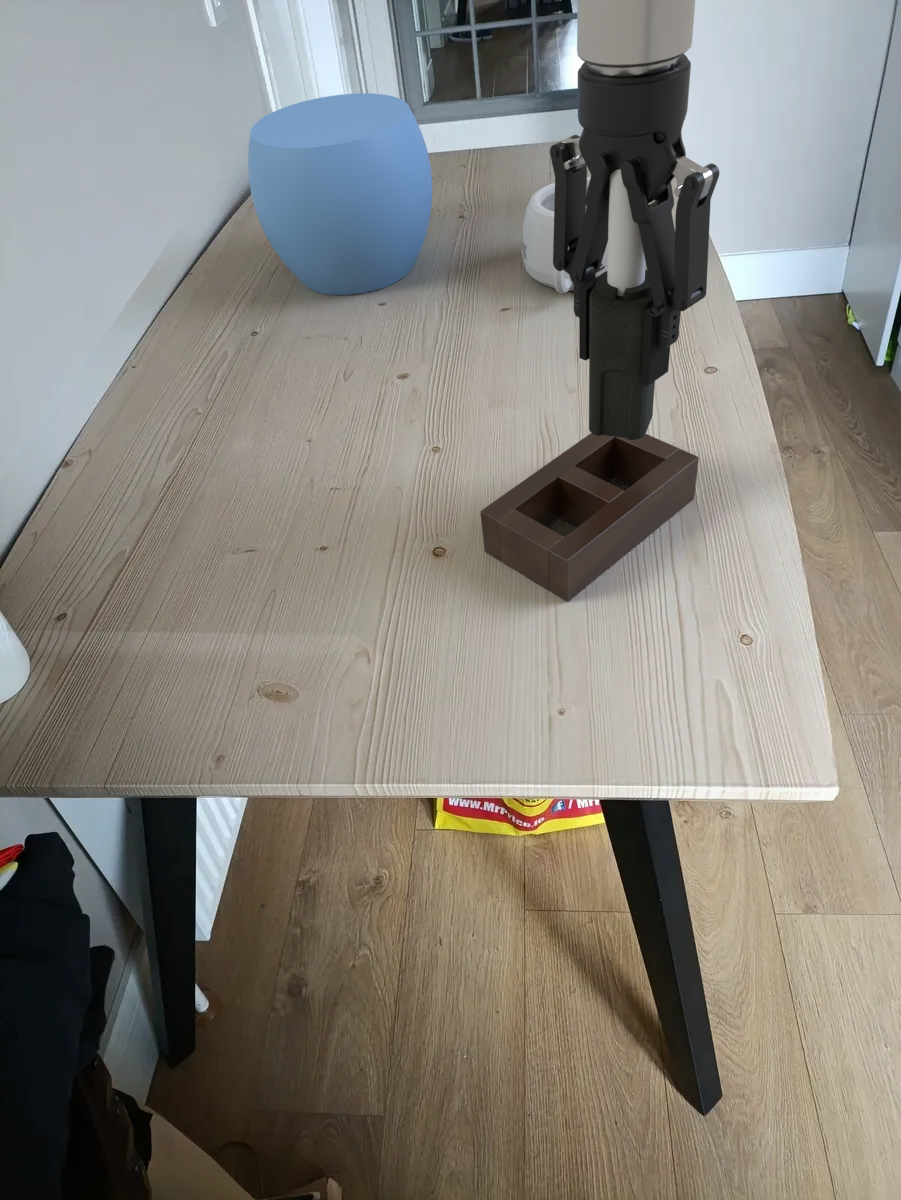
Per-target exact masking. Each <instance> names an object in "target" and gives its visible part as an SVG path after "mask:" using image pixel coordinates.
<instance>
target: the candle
mask: <svg viewBox="0 0 901 1200" xmlns="http://www.w3.org/2000/svg"><path fill="white" fill-rule="evenodd" d="M649 204H650V203H648V205H649ZM653 304H654V303H653V298H652V293H651V287H650V282H649V277H648V272H647V268H646V262H645V256H644V251H643V246H642V241H641V236H640V231H639V226H638V224H637V223H635V222H634V221H633V219H632V214H631V209H630V204H629V199H628V194H627V189H626V188H625V186H624V185H623V181H622V176H621V170H620V169H619V170H615V171H614V172H613V173H612V174H611V175H610V195H609V224H608V271H606V272H604V273H602V274H601V275H600V276H599V277H598V279H597V283H596V285H595V287H594V289H593V290H592V292H591V294H590V324H589V359H588V377H589V378H588V430H589V432H590V433H592V434H594V435H598V436H601V435H606V436H614V437H622V438H628V440H636V439H640V438H642V437H643V436H644V435H645V434H647V431H648V429H649V426H650V423H651V421H652V418H653V414H654V399H655V385H656V384H655V383H656V380H655V381H654V382H653V383H651V384H650V385H645V384H643V383H641V371H642V352H643V333H644V314H645V309H647V308H648V307H650V306H652V305H653Z"/></svg>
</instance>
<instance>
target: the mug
mask: <svg viewBox="0 0 901 1200" xmlns="http://www.w3.org/2000/svg"><path fill="white" fill-rule="evenodd" d="M590 178H591V176H587V187H586V194H587V190H588V186H589V182H590ZM554 201H555V182H553V183H549V184H547V185H545V186H544V187H542V188H540V189H538V190H537V191H535V193H533V195H532V196H531V198H530V199H529V202H528V204H527V207H526V209H525V214H524V218H523V224H522V234H521V235H522V236H521V257H522V261H523V265H524V268H525V271H526V273H527V274H528V275H529V276H530V277H532V279H534V281H537V282H538V283H540V284H542V285H544V286H545V287H549V288H552V289H554V290H555V291H556V292H557V293H559V294H560V295H562V294H565V293H567V292H569V291H570V292H571V291H572V292H574V284H573V282H572V281H571V279H570V275H569V274H568V273H567V272H565V271H564V270H562V271H558V270H556V269H555V267H554V265H553V241H554ZM586 209H587V205H586V207H585V212H586ZM568 250H569V247H568ZM601 264H603V265H602V266H601V267H603V266H605V268H604V269H603V270H601V271H599V272H598V273H596V277H598V276H599V275H601V274H602V273H604V272H606V271H608V242H607V246H606V249H605V253H604V256H603V260H602V263H601ZM601 267H600V268H601Z"/></svg>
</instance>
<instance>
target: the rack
mask: <svg viewBox="0 0 901 1200" xmlns="http://www.w3.org/2000/svg"><path fill="white" fill-rule="evenodd" d="M699 459H700V458H699V456H697V455H695V454H693V453H691V452H689V451H686V450H684V449H682V448H680V447H678V446H675V445H673V444H670V443H669V442H666V441H664V440H661V439H659V438H657V437H655V436H652V435H650V434H648V433H646V434H645V435H644V436H643V437H642V438H640V439H636V440H628V438H622V437H614V436H606V435H601V436H598V435H594V434H592V433H591V432H590V433H588V434H587V435H586V436H585V437H583V438H582V439H580V440H579V441H578V442H576V443H575V444H573V445H572V446H571V447H569V448H567V449H566V450H564V451H563V452H562V453H560V454H559V455H558V456H556V457H555V458H553V459H551V461H549V462H548V463H546V464H545V465H544V466H542V467H541V468H539V469H538V470H536V471H535V472H533V473H532V474H531V475H529V476H527V478H525V479H524V480H522V481H521V482H520V483H518V484H516V485H515V486H514V487H513V488H511V489H510V490H508V491H507V492H505V493H504V494H502V495H501V496H500V497H498V498H497V499H495V500H494V501H493V502H491V503H489V504H488V505H487V506H485V507H484V508H483V509H481V510H480V519H481V520H480V521H481V531H482V537H483V538H482V539H483V549H484V553H486V554H488V555H489V556H490V557H493V558H494V559H496V560H497V561H499V562H501V563H502V564H504V565H506V566H508V567H509V568H510V569H512V570H514V571H516V572H517V573H519V574H520V575H522V576H524V577H525V578H527V579H529V580H530V581H532V582H534V583H535V584H537V585H539V586H540V587H542V588H543V589H545V590H546V591H548V592H550V593H552V594H554V595H555V596H557V597H559V598H560V599H562V600H564V601H565V602H566V603H569V602H570V601H571V600H572V599H574V598H575V597H576V596H577V595H579V594H580V593H581V592H582V591H584V590H585V589H586V588H587V587H588V586H589V585H591V584H592V583H593V582H594V581H596V580H597V579H598V578H599V577H601V576H602V575H603V574H604V573H605V572H606V571H608V570H609V569H610V568H612V567H613V566H614V565H615V564H616V563H617V562H619V561H620V560H621V559H623V558H624V557H625V556H626V555H628V554H629V553H630V552H631V551H632V550H633V549H635V548H636V547H637V546H638V545H640V544H641V543H642V542H643V541H644V540H646V539H647V538H648V537H649V536H650V535H653V533H654V532H655V531H657V530H658V529H659V528H660V527H662V526H663V525H664V524H665V523H666V522H667V521H669V520H670V519H671V518H672V517H674V516H675V515H676V514H677V513H679V511H681V510H682V509H683V508H685V507H686V506H687V505H689V504H690V502H692V501H693V500H695V495H696V487H697V486H696V485H697V479H698V468H699V462H700V461H699ZM613 478H615V479H617V480H619V481H620V482H623V483H625V484H627V485H629V487H628V488H627V489H625V490H624V489H622V488H621V487H618V486H615V485H614V484H612V483H610V482H609V481H610V480H612V479H613ZM559 519H562V520H563V521H564V522H567V523H569V524H571V525H572V526H574V527H576V528H575V529H573V530H572V531H571V532H570V533H568V534H567V535H566V536H563V535H562V534H560V533H558V532H556V531H555V530H553V529H551V528H550V527H549V526H551V525H552V524H554V523H555V522H556V521H558V520H559Z"/></svg>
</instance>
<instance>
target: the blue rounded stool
mask: <svg viewBox="0 0 901 1200" xmlns="http://www.w3.org/2000/svg"><path fill="white" fill-rule="evenodd" d="M247 151H248V152H247V172H248V173H247V174H248V182H249V189H250V194H251V199H252V203H253V207H254V210H255V213H256V216H257V218H258V221H259V223H260V226H261V229H262V230H263V233H264V235H265V236H266V239H267V240H268V243H270V245H271V247H272V249H273V250H274V252H275V253H276V254H277V256H278V257H279V259H280V260H281V261H282V263H283V264H284V265H285V266H286V268H287V269H288V270H289V271H290V272H291V273H292V274H293V275H294V277H296V278H297V280H299V282H300V283H301V284H302V285H304V286H305V287H306V288H308V289H309V290H310V291H312V292H315V293H320V294H323V295H330V296H352V295H353V296H355V295H360V294H365V293H371V292H375V291H378V290H381V289H384V288H387V287H389V286H391V285H393V284H395V283H397V282H399V281H400V280H403V278H405V277H407V275H408V274H410V272H411V271H412V270H413V268H414V266H415V264H416V262H417V261H418V258H419V256H420V253H421V251H422V247H423V245H424V242H425V239H426V236H427V232H428V228H429V225H430V219H431V213H432V205H433V173H432V167H431V161H430V155H429V152H428V147H427V145H426V141H425V138H424V136H423V132H422V130H421V128H420V125H419V124H418V121H417V119H416V117H415V114H414V113H413V110H411V107H410V106H409V104H408V103H407V102H406V101H405V100H403V99H401V98H400V97H397V96H393V95H388V94H382V93H368V92H367V93H365V92H364V93H362V92H361V93H359V92H358V93H345V94H344V93H343V94H335V95H328V96H322V97H317V98H316V97H315V98H311V99H308V100H303V101H300V102H296V103H293V104H290V105H287V106H284V107H281V108H279V109H277V110H275V111H272V112H270V113H268V114H266V115H265V116H263V117H262V118H260V119H259V120H257V121H256V122H255V123H254V124H253V125H252V127H251V129H250V134H249V140H248V150H247Z"/></svg>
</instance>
